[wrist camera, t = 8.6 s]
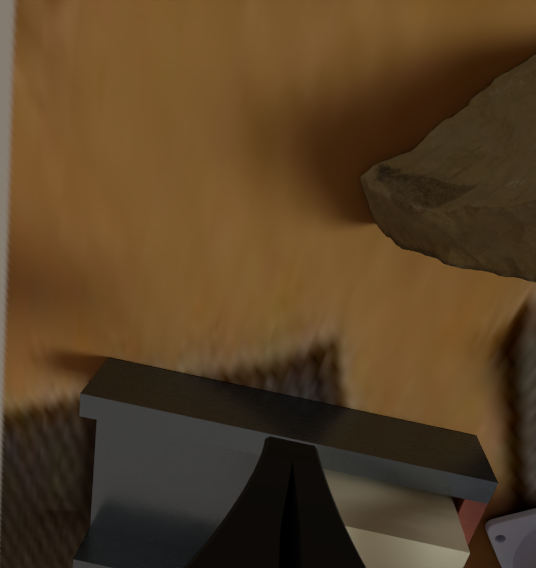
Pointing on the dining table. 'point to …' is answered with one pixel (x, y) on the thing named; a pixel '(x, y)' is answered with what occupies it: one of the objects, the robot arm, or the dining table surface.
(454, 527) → the block
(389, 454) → the chute
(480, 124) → the rock
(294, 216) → the dining table surface
